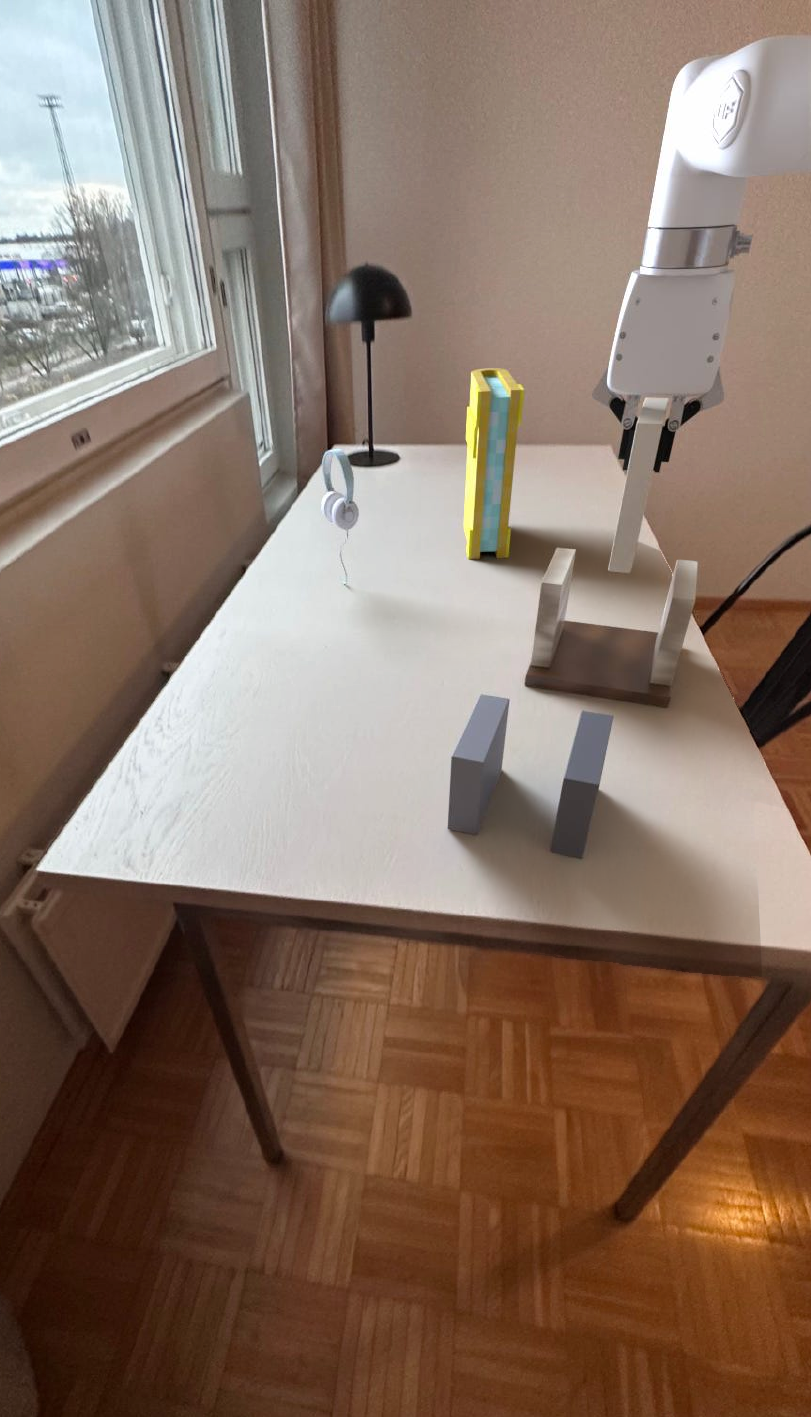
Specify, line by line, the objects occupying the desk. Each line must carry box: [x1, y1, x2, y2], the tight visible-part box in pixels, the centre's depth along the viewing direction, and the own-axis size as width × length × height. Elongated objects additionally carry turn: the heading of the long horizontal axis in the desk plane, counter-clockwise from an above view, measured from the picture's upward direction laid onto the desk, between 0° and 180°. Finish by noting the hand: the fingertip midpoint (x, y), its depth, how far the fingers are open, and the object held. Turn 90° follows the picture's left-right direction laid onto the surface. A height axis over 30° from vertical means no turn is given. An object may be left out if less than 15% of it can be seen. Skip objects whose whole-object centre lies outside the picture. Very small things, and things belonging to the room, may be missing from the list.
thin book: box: [607, 396, 670, 574], centre depth 77 cm, size 2×11×15 cm, turn 159°
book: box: [462, 367, 525, 560], centre depth 118 cm, size 17×7×25 cm, turn 179°
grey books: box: [447, 693, 614, 860], centre depth 69 cm, size 13×11×9 cm
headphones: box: [320, 448, 360, 585], centre depth 108 cm, size 8×4×20 cm, turn 27°
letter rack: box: [524, 547, 699, 709], centre depth 88 cm, size 17×16×12 cm
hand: (641, 466), depth 76 cm, fingers closed on thin book, 2 cm apart
